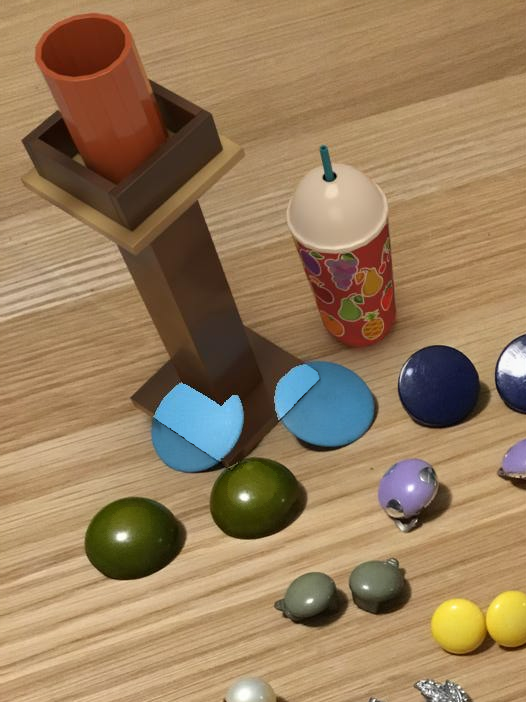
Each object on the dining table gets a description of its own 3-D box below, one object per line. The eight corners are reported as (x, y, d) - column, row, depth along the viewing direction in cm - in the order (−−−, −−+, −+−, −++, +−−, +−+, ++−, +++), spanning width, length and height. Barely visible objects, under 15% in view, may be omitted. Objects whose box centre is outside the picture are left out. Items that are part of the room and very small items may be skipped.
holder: (134, 405, 101) (-11, 144, 75) (223, 318, 105) (116, 40, 78) (231, 471, 98) (116, 221, 71) (320, 379, 101) (242, 109, 75)
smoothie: (399, 280, 105) (369, 100, 87) (412, 350, 102) (385, 178, 84) (311, 296, 105) (263, 118, 87) (322, 366, 102) (274, 197, 83)
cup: (70, 171, 77) (14, 55, 69) (131, 118, 79) (83, 0, 71) (132, 208, 76) (82, 94, 67) (192, 153, 77) (151, 36, 69)
